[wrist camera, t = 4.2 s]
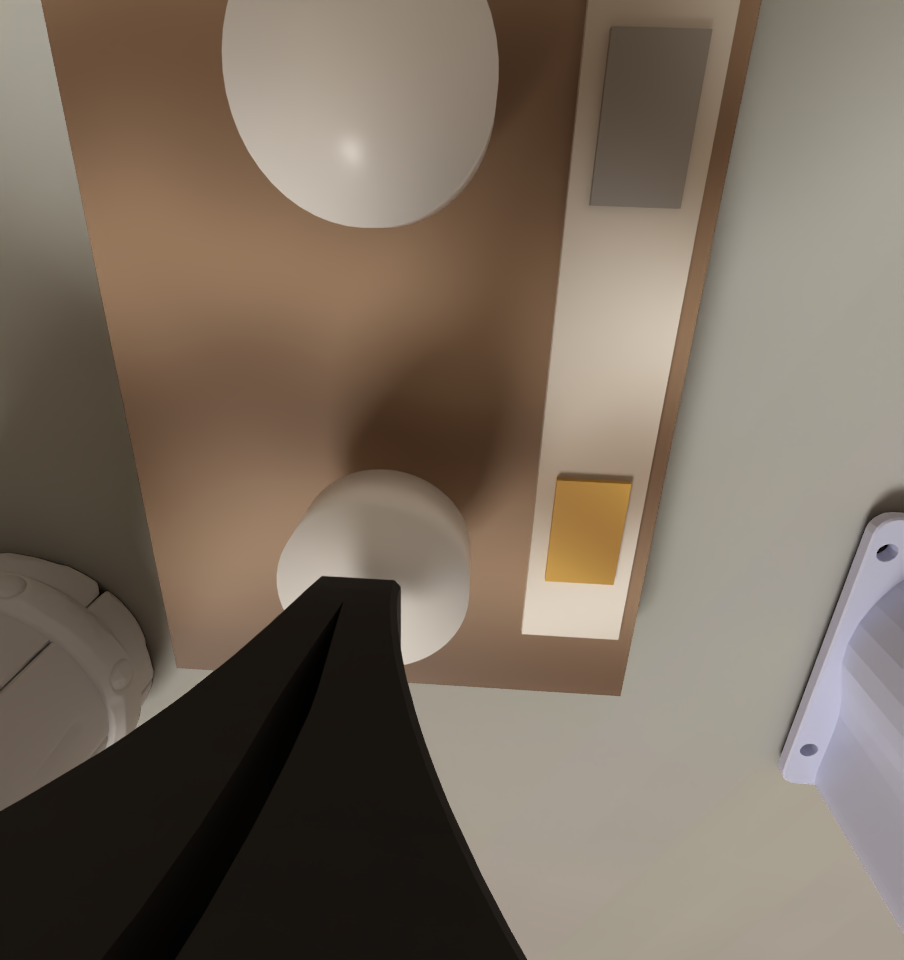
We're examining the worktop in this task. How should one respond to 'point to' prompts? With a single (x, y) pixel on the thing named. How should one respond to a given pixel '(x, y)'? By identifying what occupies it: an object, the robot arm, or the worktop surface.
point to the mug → (62, 672)
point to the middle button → (363, 101)
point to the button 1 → (387, 551)
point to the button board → (413, 319)
